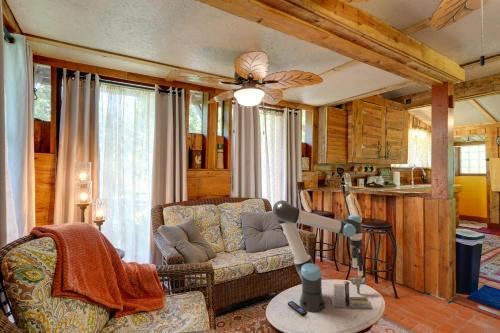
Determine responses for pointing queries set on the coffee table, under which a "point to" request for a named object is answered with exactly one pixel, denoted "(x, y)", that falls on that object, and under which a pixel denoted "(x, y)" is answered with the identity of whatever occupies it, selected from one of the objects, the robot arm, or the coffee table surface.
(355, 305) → the hinge base
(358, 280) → the mechanical component
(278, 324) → the coffee table surface
